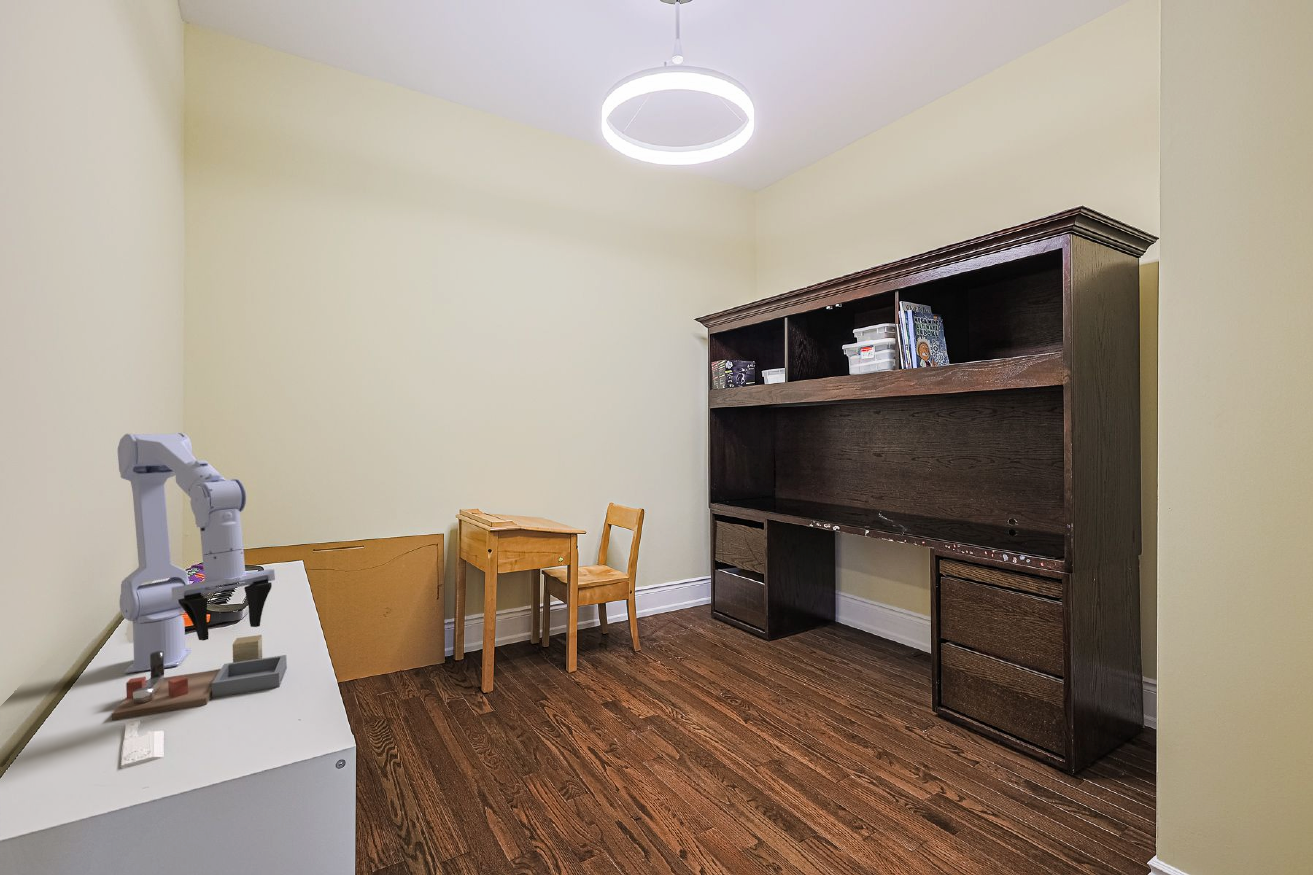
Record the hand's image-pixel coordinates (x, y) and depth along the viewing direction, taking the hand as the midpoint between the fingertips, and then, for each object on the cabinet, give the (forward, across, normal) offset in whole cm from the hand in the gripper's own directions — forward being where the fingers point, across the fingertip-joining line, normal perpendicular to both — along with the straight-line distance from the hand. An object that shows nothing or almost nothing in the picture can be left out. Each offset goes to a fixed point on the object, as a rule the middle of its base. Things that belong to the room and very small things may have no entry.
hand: (230, 632), depth 104 cm
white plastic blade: (+12, -14, -6) cm, 19 cm away
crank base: (+9, -6, +9) cm, 14 cm away
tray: (+10, +4, +4) cm, 11 cm away
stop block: (+9, +7, +13) cm, 17 cm away
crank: (+8, -8, +10) cm, 15 cm away
